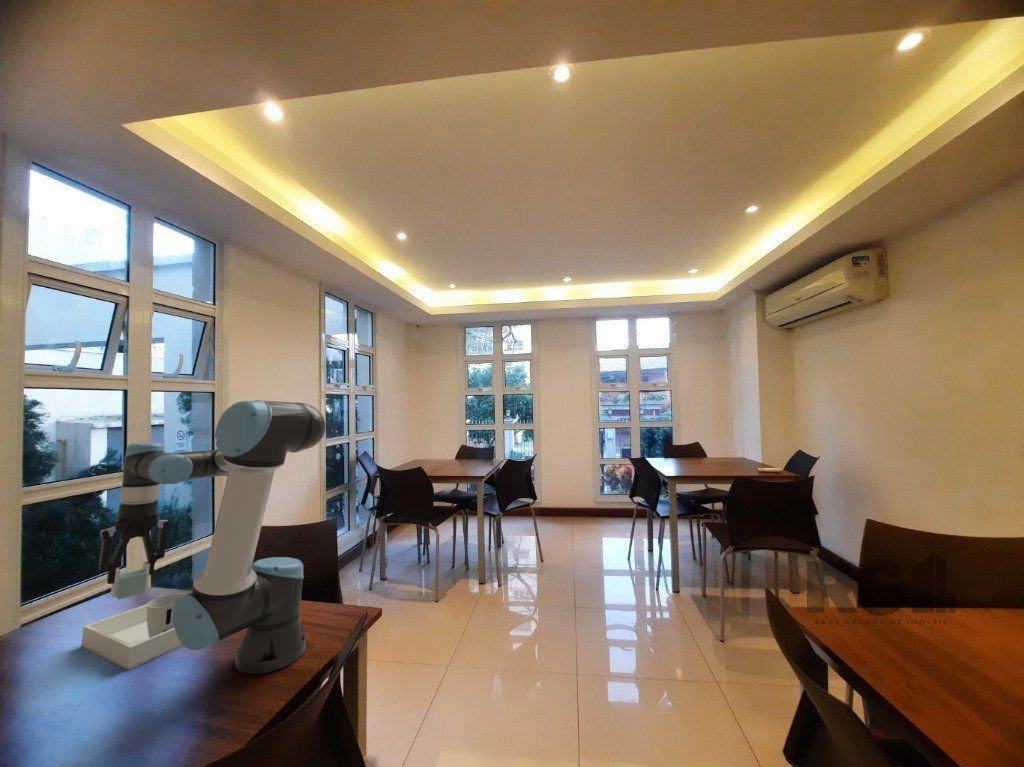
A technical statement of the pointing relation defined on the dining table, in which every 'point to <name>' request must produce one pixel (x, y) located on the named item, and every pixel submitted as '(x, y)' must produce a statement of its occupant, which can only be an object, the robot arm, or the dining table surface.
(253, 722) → the dining table surface
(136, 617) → the tote
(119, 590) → the cube
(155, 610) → the cup
